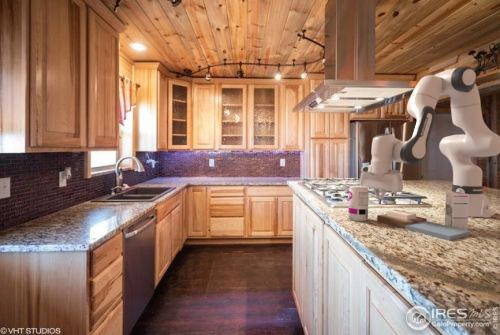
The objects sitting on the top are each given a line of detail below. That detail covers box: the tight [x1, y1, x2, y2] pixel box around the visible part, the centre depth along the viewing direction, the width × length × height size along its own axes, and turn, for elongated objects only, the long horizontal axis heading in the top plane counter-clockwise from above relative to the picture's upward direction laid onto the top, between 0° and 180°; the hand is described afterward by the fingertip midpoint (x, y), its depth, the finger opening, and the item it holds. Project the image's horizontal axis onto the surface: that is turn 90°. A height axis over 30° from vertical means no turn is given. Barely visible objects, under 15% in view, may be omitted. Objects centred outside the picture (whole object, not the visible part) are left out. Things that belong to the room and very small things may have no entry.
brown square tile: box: [376, 213, 428, 229], centre depth 117 cm, size 14×13×2 cm
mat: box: [404, 220, 472, 241], centre depth 104 cm, size 14×16×2 cm
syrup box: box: [444, 191, 469, 230], centre depth 108 cm, size 6×6×14 cm
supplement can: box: [347, 184, 370, 222], centre depth 123 cm, size 8×8×15 cm
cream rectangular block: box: [386, 209, 417, 220], centre depth 117 cm, size 6×9×2 cm, turn 27°
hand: (379, 199), depth 126 cm, fingers closed
